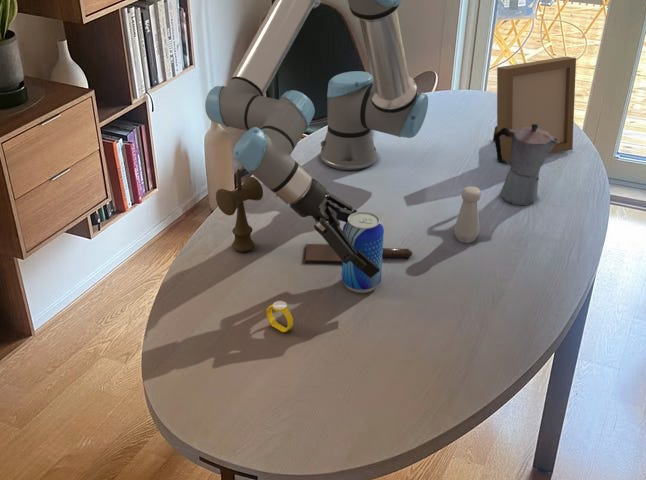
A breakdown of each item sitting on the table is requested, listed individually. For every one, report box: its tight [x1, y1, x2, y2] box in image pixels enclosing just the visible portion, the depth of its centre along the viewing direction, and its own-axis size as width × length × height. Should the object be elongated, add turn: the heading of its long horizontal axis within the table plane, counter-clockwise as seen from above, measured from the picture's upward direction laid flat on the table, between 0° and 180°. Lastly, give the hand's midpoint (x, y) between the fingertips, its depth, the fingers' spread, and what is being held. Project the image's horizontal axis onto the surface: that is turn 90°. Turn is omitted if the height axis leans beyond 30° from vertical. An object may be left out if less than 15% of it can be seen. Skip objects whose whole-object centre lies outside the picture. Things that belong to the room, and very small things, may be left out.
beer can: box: [341, 211, 385, 294], centre depth 172 cm, size 8×8×16 cm
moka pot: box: [493, 124, 559, 206], centre depth 202 cm, size 10×15×20 cm, turn 78°
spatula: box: [304, 243, 413, 264], centre depth 185 cm, size 24×7×2 cm, turn 89°
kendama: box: [215, 168, 264, 253], centre depth 182 cm, size 6×10×20 cm, turn 138°
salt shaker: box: [453, 186, 482, 244], centre depth 188 cm, size 6×6×13 cm
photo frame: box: [492, 56, 577, 164], centre depth 223 cm, size 15×22×25 cm
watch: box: [266, 300, 294, 333], centre depth 162 cm, size 6×3×6 cm, turn 51°
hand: (373, 256), depth 173 cm, fingers open, 12 cm apart
